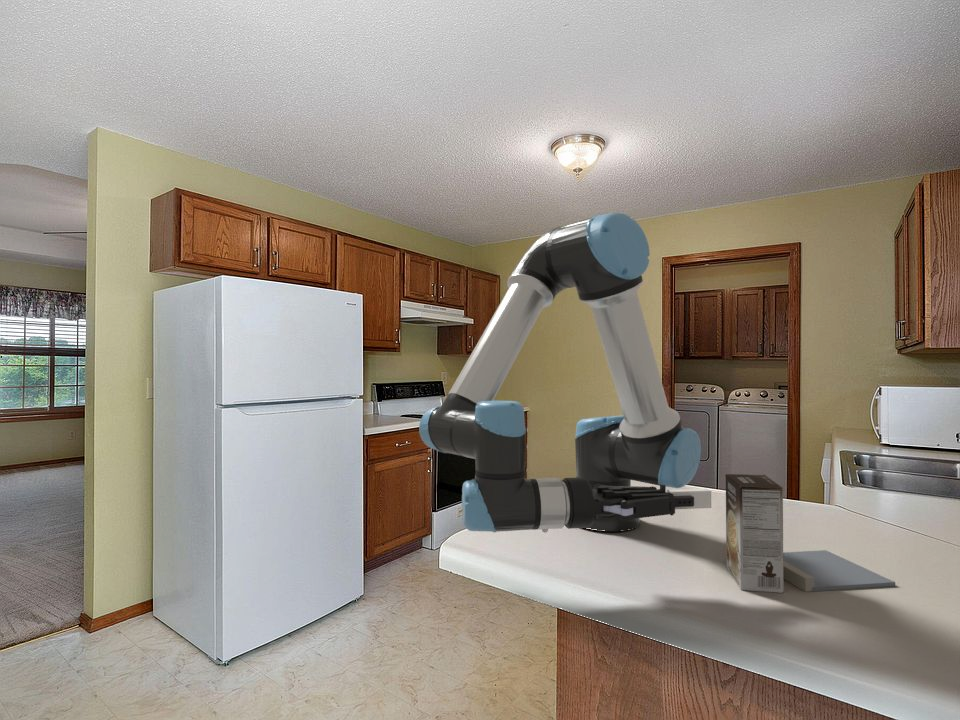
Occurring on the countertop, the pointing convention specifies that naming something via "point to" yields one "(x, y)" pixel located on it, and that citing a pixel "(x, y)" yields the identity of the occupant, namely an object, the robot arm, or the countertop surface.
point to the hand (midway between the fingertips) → (708, 498)
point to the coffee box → (754, 532)
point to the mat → (828, 572)
